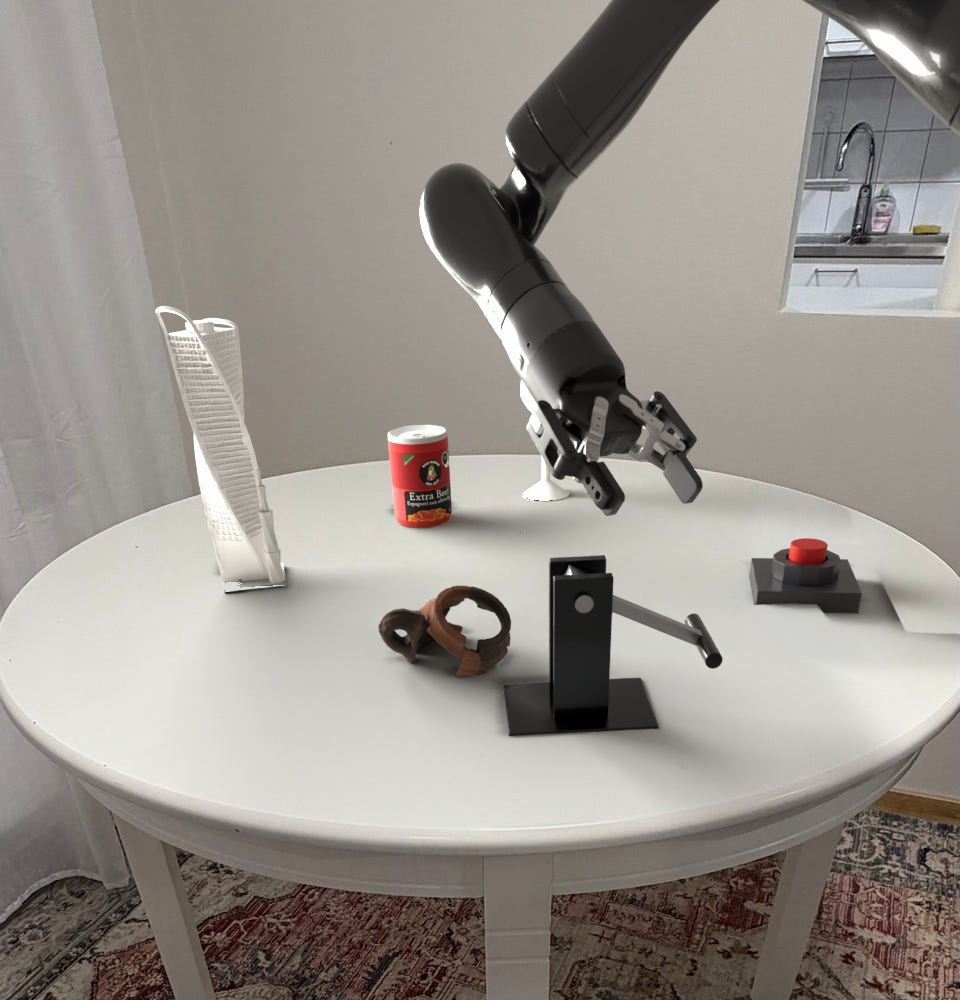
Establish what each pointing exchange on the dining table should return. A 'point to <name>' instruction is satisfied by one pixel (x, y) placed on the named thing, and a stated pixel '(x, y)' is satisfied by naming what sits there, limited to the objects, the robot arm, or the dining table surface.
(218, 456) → the skyscraper
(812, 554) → the button
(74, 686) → the dining table surface
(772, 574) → the housing
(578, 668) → the switch bracket
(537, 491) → the champagne flute
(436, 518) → the canned food
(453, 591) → the brown curved ring piece
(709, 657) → the switch lever
